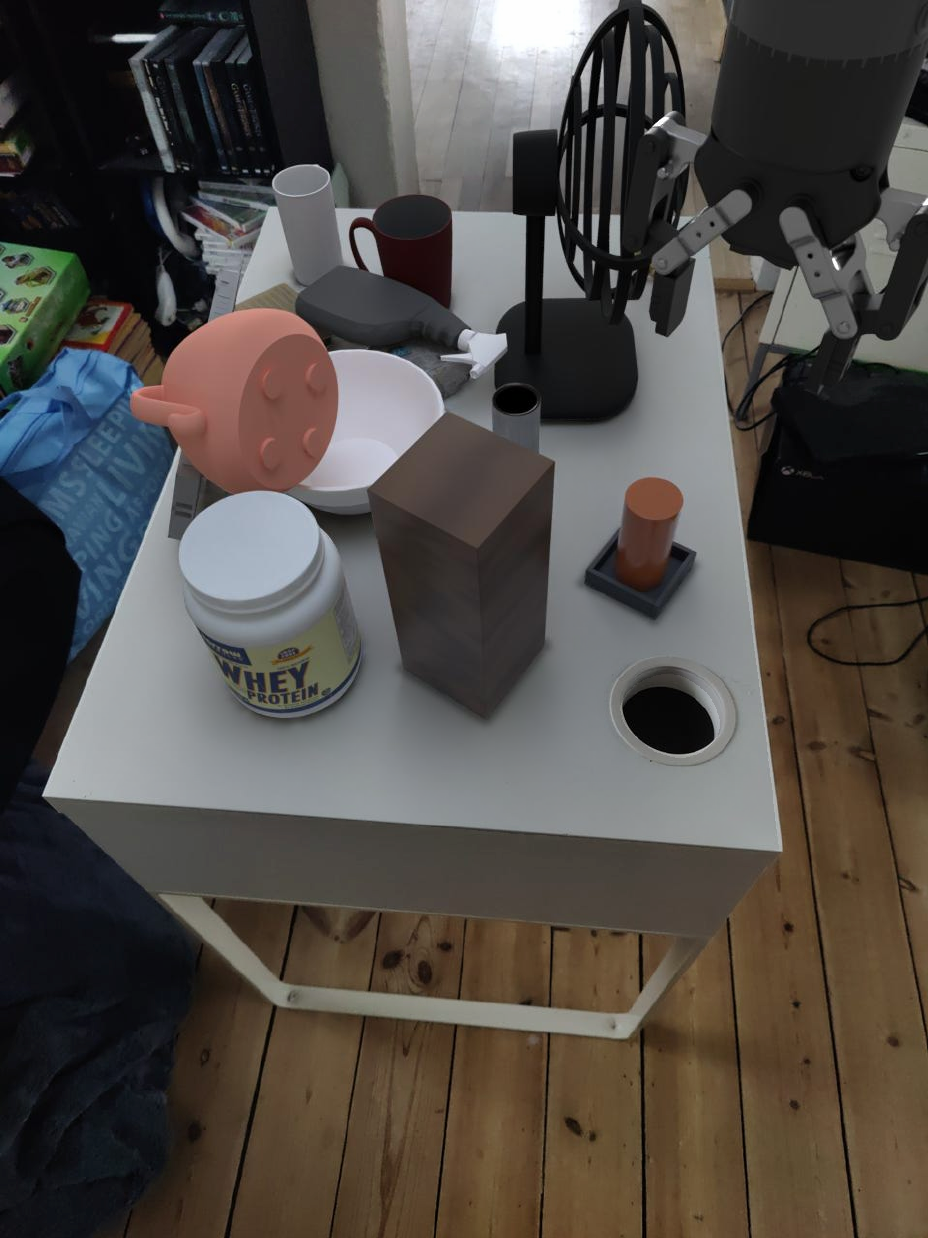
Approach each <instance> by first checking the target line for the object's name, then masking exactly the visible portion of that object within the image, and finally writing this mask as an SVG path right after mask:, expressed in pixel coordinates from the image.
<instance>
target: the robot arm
mask: <svg viewBox="0 0 928 1238" xmlns="http://www.w3.org/2000/svg"><path fill="white" fill-rule="evenodd" d="M927 54H928V0H731V6H730V11H729V16H728V23H727V28H726V33H725V39H724V44H723V49H722V55H721V60H720V61H721V62H720V67H719V72H718V78H717V83H716V88H715V94H714V99H713V105H712V110H711V115H710V116H711V117H710V118H711V119H710V121H711V122H710V128H709V131H708V134H705V133H703V132H701V131H697V130H695V129H692V128H689V127H687V119H686V120H685V118H684V116H683V115H682V114H681V113H679V112H677V111H672V110H671V111H669V112H668V113H666V114H665V116H664V117H663V118H662V119H660V120H659V121H658V122H657V123H656V124H655V125H654V126H653V127H651V128H650V129H649V131H646V132H645V133H644V135H643V136H642V137H641V138H640V140H639V143H638V148H637V154H636V160H635V165H634V171H633V177H632V183H631V188H630V194H629V200H628V206H627V212H626V217H625V223H624V229H623V235H622V243H623V245H624V247H625V248H626V249H627V250H628V251H629V252H632V253H637V252H639V251H641V252H642V253H643V254H645V255H646V256H647V257H648V258H650V260H651V261H652V266H653V268H654V270H655V274H654V279H652V288H651V295H650V301H649V306H648V307H649V308H648V314H649V318H650V321H652V322H653V323H655V328H654V333H655V334H657V335H659V336H661V337H665V338H669V337H670V336H671V335H672V334H673V333H674V332H675V330H677V328H678V327H679V326H680V325H681V324H682V323H683V320H684V318H685V315H686V312H687V308H688V303H689V296H690V293H691V287H692V283H693V276H694V270H695V265H696V260H697V258H695V257H694V256H695V255H696V254H697V253H699V252H700V251H702V250H703V249H704V248H705V247H707V246H708V245H709V244H711V243H712V242H713V241H715V240H716V239H717V238H719V236H721V238H722V239H723V241H724V242H726V243H727V244H728V245H729V249H728V251H730V252H732V253H735V254H739V255H741V256H748V257H759V258H762V259H763V260H766V261H767V263H768V262H769V263H770V264H771V265H773V266H775V267H777V268H780V269H783V270H786V271H789V272H791V271H792V270H793V269H794V268H795V267H799V268H800V271H801V273H802V276H803V278H804V281H805V283H806V286H807V288H808V290H809V292H810V295H811V297H812V298H813V299H814V300H819V302H820V305H821V307H822V310H823V312H824V315H825V317H826V320H827V322H828V325H829V326H828V327H827V329H826V330H825V331H824V332H823V334H822V338H821V341H820V343H819V346H818V349H817V352H816V354H815V357H814V360H813V362H812V366H811V368H810V371H809V374H808V377H807V379H806V383H805V386H804V388H803V390H804V391H806V392H809V393H811V394H814V395H816V396H818V395H819V394H820V392H821V391H822V390H823V388H824V387H826V388H829V389H833V388H834V387H835V386H836V385H837V384H838V383H839V382H840V381H841V379H842V378H843V376H844V375H845V374H846V372H847V371H848V369H849V368H850V366H851V363H852V361H853V358H854V357H855V354H856V352H857V349H858V347H859V343H860V341H861V339H862V336H865V335H875V336H876V338H878V339H879V340H881V341H885V342H890V341H894V340H896V339H897V338H899V336H900V335H901V333H902V332H903V330H904V329H905V328H906V326H907V324H908V323H909V321H910V320H911V318H912V317H913V315H914V314H915V313H916V311H917V310H918V308H919V306H920V304H921V302H922V299H923V297H924V294H925V291H926V289H927V286H928V194H922V193H918V192H914V191H908V190H904V189H900V188H895V187H891V185H890V179H889V162H890V157H891V154H892V151H893V149H894V145H895V142H896V140H897V137H898V134H899V132H900V129H901V126H902V123H903V120H904V117H905V115H906V112H907V109H908V106H909V103H910V100H911V98H912V95H913V93H914V90H915V87H916V84H917V81H918V78H919V76H920V73H921V70H922V68H923V65H924V62H925V60H926V56H927ZM686 127H687V128H686ZM689 163H690V164H693V171H694V174H695V177H696V179H697V182H698V185H699V187H700V189H701V193H702V194H703V196H704V199H705V202H706V205H705V207H703V208H702V209H701V210H700V211H699V212H698V213H696V214H695V215H694V216H693V217H692V218H691V219H689V220H688V221H687V222H686V223H685V224H683V225H682V226H681V227H679V229H678V228H677V229H676V228H674V227H673V226H672V225H670V224H669V223H668V222H666V219H667V215H668V210H669V205H670V201H671V196H672V192H673V187H674V182H675V178H676V177H677V176H678V175H679V174H680V173H681V172H683V171H684V170H685V169H686V168H687V166H688V164H689ZM875 219H876V220H879V221H880V222H882V224H884V226H885V229H886V236H885V241H886V244H887V246H888V249H889V250H890V251H891V252H894V253H897V254H896V257H895V258H894V259H895V260H894V262H893V265H892V269H891V271H890V274H889V278H888V281H887V283H886V287H885V290H884V292H883V293H876V292H875V289H874V287H873V283H872V280H871V278H870V275H869V272H868V270H867V265H866V262H867V261H866V260H867V250H866V247H865V243H864V241H863V238H862V236H861V232H860V231H861V230H862V229H865V228H866V227H867V226H868V225H870V224H871V223H872V222H873V221H874V220H875Z"/></svg>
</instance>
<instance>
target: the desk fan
mask: <svg viewBox="0 0 928 1238" xmlns="http://www.w3.org/2000/svg"><path fill="white" fill-rule="evenodd" d="M645 22H647V23H649V24H646V23H645ZM627 30H628V31H629V33H628V34H629V52H630V53H629V54H630V56H629V57H630V79H629V89H628V95H627V103H626V104H625V103H618V92H619V83H620V75H621V66H622V59H623V52H624V46H625V39H626V34H627ZM663 40H664V41H665V43H666V46H667V48H668V50H669V53H670V55H671V58H672V61H673V65H674V68H675V69H674V70H675V72H673V71H672V72H666V71H665V70H666V69H665V68H666V67H665V53H664V52H665V51H664V43H663ZM648 47H649V48H648ZM648 49H649V52H650V62H651V63H650V64H651V92H652V93H651V99H652V100H651V117H650V116H649V115H647V114H646V104H647V103H646V101H647V100H646V99H647V51H648ZM591 56H592V58H591ZM590 58H591V67H590V77H589V86H588V87H589V89H588V100H587V109H586V110H584V111H583V94H582V93H583V90H582V75H583V73H584V70H585V67H586V66H587V64H588V62H589V60H590ZM602 68H603V69H602ZM602 71H603V73H602ZM602 74H603V103H600V104H599V96H600V95H599V94H600V87H601V86H600V84H601V77H602V76H601V75H602ZM569 85H570V86H569V89H568V92H567V96H566V99H565V104H564V107H563V112H562V116H561V122H560V128H559V132H558V128H550V129H549V128H548V129H531V130H524V131H518V132H514V133H513V134H512V214H513V215H516V216H523V217H525V258H524V259H525V261H524V262H525V265H524V266H525V268H524V269H525V272H524V274H525V275H524V301H521V302H519V303H517V304H515V305H513V306H512V307H510V308H509V309H508V310H507V311H506V312H505V313H504V314H503V315H502V316H501V318H500V319H499V320H498V323H497V325H496V329H495V335H497V334H503V333H506V340H507V352H506V353H505V354H504V355H503V356H502V357H501V358H500V359H499V360H498V361H497V362H496V363H495V364H494V365H493V366H494V368H493V369H494V370H493V371H494V372H493V379H494V382H493V383H494V388H495V391H496V390H497V389H499V388H500V387H502V386H504V385H507V384H511V383H523V384H527V385H529V386H531V387H533V388H534V389H536V390H537V391H538V393H539V395H540V398H541V408H540V421H597V420H604V419H608V418H610V417H612V416H615V415H617V414H618V413H620V412H622V411H623V410H624V409H625V408H627V406H629V404H631V402H632V400H633V399H634V397H635V395H636V392H637V389H638V382H639V367H638V357H637V348H636V340H635V338H636V337H635V332H634V331H635V330H634V327H633V324H632V322H631V320H630V318H629V317H628V316H627V315H626V308H627V304H628V301H639V300H640V299H641V298H642V297H643V294H644V291H645V288H646V285H647V281H648V277H649V276H648V273H649V268H650V264H652V261H651V260H650V258H648V257H647V256H646V255H645V254H643V253H642V252H641V254H639V255H635V253H632V252H629V251H628V250H627V249H626V248H625V247H624V245H623V243H622V235H623V229H624V223H625V217H626V212H627V206H628V200H629V194H630V188H631V183H632V177H633V171H634V165H635V160H636V154H637V148H638V143H639V140H640V138H641V137H642V136H643V135H644V134H645V133H646V132H648V131H649V129H650V128H651V127H653V126H654V125H655V124H656V123H657V122H658V121H659V120H660V119H662V118H663V117H664V116H665V115H666V113H665V112H666V93H667V92H666V91H667V89H668V86H669V89H670V96H671V98H670V99H671V112H672V111H677V112H679V113H681V114H682V115H683V116H684V118H685V120H686V121H687V118H686V117H687V112H686V111H687V110H686V109H687V108H686V93H685V85H684V77H683V71H682V66H681V61H680V57H679V53H678V49H677V47H676V43H675V40H674V38H673V35H672V33H671V31H670V28H669V26H668V25H667V23H666V21H665V20H664V18H663V17H662V16H661V14H660V13H659V12H657V10H655V9H654V8H653V7H651V5H648V4H645V3H643V1H642V0H619V1H618V4H617V8H616V9H615V10H613V11H612V12H611V13H609V14H608V16H606V18H604V19H603V21H602V22H601V23H600V24H599V25H598V27H597V28H596V30H595V31H594V33H593V34H592V35H591V37H590V39H589V40H588V42H587V44H586V46H585V48H584V50H583V51H582V54H581V57H579V61H578V63H577V66H576V67H575V70H574V74H573V75H571V79H570V84H569ZM616 117H617V118H623V119H625V122H624V123H625V125H624V136H623V149H622V150H623V151H622V161H621V162H622V163H621V180H620V181H621V182H620V202H619V203H620V205H619V206H620V207H619V255H617V254H612V253H610V251H611V250H610V248H611V247H610V246H611V245H610V243H611V242H610V239H611V237H610V234H611V232H610V231H611V230H610V228H611V227H610V226H611V214H612V200H613V184H614V169H615V168H614V166H615V148H616V147H615V144H616ZM600 118H603V119H602V121H603V123H602V139H601V140H602V141H601V160H600V175H599V176H600V179H599V180H600V181H599V203H598V204H599V205H598V206H599V207H598V223H597V224H598V225H597V226H598V227H597V237H596V245H595V244H593V198H594V197H593V195H594V194H593V193H594V171H595V170H594V169H595V166H594V165H595V150H596V133H597V120H598V119H600ZM584 126H586V131H585V147H584V148H585V150H584V169H583V170H584V171H583V174H584V175H583V199H582V200H583V201H582V202H583V203H582V204H583V206H582V207H583V208H582V233H581V231H580V230H579V218H580V203H581V202H580V200H581V182H582V181H581V179H582V178H581V177H582V154H583V153H582V151H583V149H582V148H583V147H582V145H583V141H582V140H583V127H584ZM686 128H688V126H686ZM645 130H646V132H645ZM564 155H565V173H564V174H565V175H564V197H563V193H562V187H561V186H562V185H561V178H560V177H561V167H562V162H563V158H564ZM690 168H691V163H689V164H688V166H687V168H686V169H685V170H684V171H683V172H681V173H680V174H679V175H678V176H677V177H676V178H675V182H674V187H673V192H672V196H671V201H670V205H669V210H668V215H667V219H666V222H668V223H669V224H670V225H672V226H673V227H674V228H676V229H677V230H678V227H679V223H680V218H681V212H682V210H683V208H684V205H685V202H686V197H687V192H688V185H689V180H690V171H691V169H690ZM572 173H573V175H572ZM546 217H556V221H557V222H556V223H557V228H558V229H557V230H558V235H559V240H560V245H561V249H562V253H563V256H564V259H565V263H566V265H567V267H568V271H569V272H570V274H571V276H572V278H573V280H574V281H575V283H576V284H577V285H578V287H579V288H580V289H581V291H583V292H584V296H585V297H550V298H549V297H547V298H546V297H544V273H545V272H544V271H545V242H546V241H545V239H546ZM563 225H564V227H563ZM577 247H578V248H579V250H580V251H581V252H582V263H583V264H582V268H583V269H582V271H583V276H582V274H581V273H580V272H579V270H578V268H577V267H576V265H575V263H574V262H575V259H576V253H577ZM593 262H594V264H593ZM593 265H594V267H593ZM611 270H612V271H615V272H617V278H616V285H615V287H612V285H611ZM635 270H636V271H635ZM632 271H634V274H632V273H633V272H632Z"/></svg>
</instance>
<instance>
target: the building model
mask: <svg viewBox="0 0 928 1238" xmlns="http://www.w3.org/2000/svg"><path fill="white" fill-rule="evenodd" d="M244 257H245V254H244V252H241V255H240V259H239V264H238V269H237V272H235V271H231V270H228V269H222V268H219V271H218V276H217V280H216V285H215V288H214V294H213V298H212V303H211V307H210V311H209V315H208V320H207V323H208V322H210V321H212V320H214V319H216V318H218V317H220V316H223V315H226V314H229V313H232V312H234V310H235V305H236V304H237V298H238V291H239V286H240V280H241V274H242V267H243V261H244ZM204 477H205V476H204V475H203V474H202V473H200V472H199V471H198V470H197V469H196V468H195V467H194V466H193V465H192V463H191V462H190V461H189V460H188V458H187V457H186V456H185V454H184V453H183V452H182V450H181V449H180V454H179V459H178V463H177V468H176V472H175V477H174V484H173V493H172V499H171V501H172V502H171V509H170V516H169V517H170V518H169V524H168V532H167V538H168V539H172V540H176V541H181V539H182V537H183V535H184V533H185V531H186V529H187V528H188V526H189V525H190V523H191V522H192V521H193V520H194V519H195V518H196V517H197V516H196V515H197V509H198V506H199V505H198V503H199V500H200V496H201V491H202V485H203V480H204Z"/></svg>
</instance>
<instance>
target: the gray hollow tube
mask: <svg viewBox="0 0 928 1238" xmlns="http://www.w3.org/2000/svg"><path fill="white" fill-rule="evenodd" d="M494 391H495V392H493V394H492V396H491V422H492V423H491V427H492V430H491V431H492V432H494V433H496V434H498V435H500V436H503V437H505V438H507V439H509V440H511V441H513V442H515V443H518V444H520V445H522V446H524V447H526V448H528V449H530V450H533V451H535V452H537V453H539V454H540V433H541V420H540V408H541V398H540V395H539V393H538V391H537V390H536V389H534V388H533V387H531V386H529V385H527V384H523V383H511V384H507V385H504V386H502V387H500V388H499V389H497V390H496V389H495V390H494Z"/></svg>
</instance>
